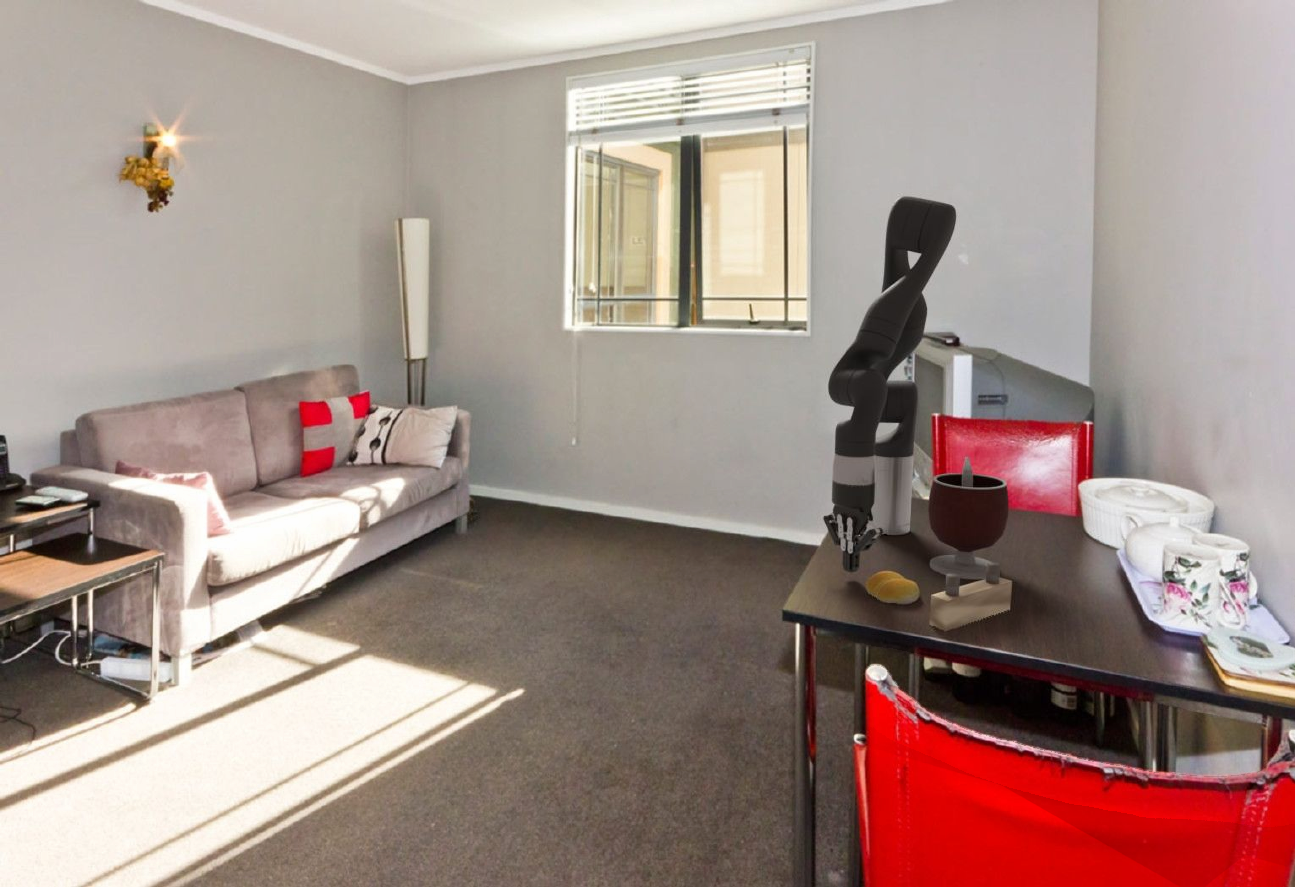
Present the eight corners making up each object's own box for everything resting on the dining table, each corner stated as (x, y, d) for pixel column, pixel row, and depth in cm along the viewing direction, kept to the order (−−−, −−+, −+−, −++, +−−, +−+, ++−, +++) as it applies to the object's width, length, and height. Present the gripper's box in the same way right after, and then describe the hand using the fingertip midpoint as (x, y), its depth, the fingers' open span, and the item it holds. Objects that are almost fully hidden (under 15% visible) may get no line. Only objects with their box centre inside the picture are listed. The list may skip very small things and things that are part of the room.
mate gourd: (1008, 584, 142) (1016, 475, 139) (926, 576, 146) (932, 470, 143) (998, 557, 157) (1005, 458, 153) (923, 551, 161) (929, 454, 157)
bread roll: (890, 609, 132) (891, 586, 131) (858, 591, 140) (859, 569, 139) (930, 602, 135) (932, 579, 134) (897, 585, 143) (898, 563, 142)
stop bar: (929, 625, 124) (932, 576, 123) (993, 604, 133) (996, 558, 131) (945, 631, 122) (948, 582, 121) (1010, 610, 130) (1013, 563, 129)
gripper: (897, 482, 138) (892, 577, 142) (842, 469, 150) (839, 557, 153) (866, 488, 135) (862, 585, 138) (812, 474, 146) (810, 564, 149)
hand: (850, 570), depth 145 cm, fingers closed
